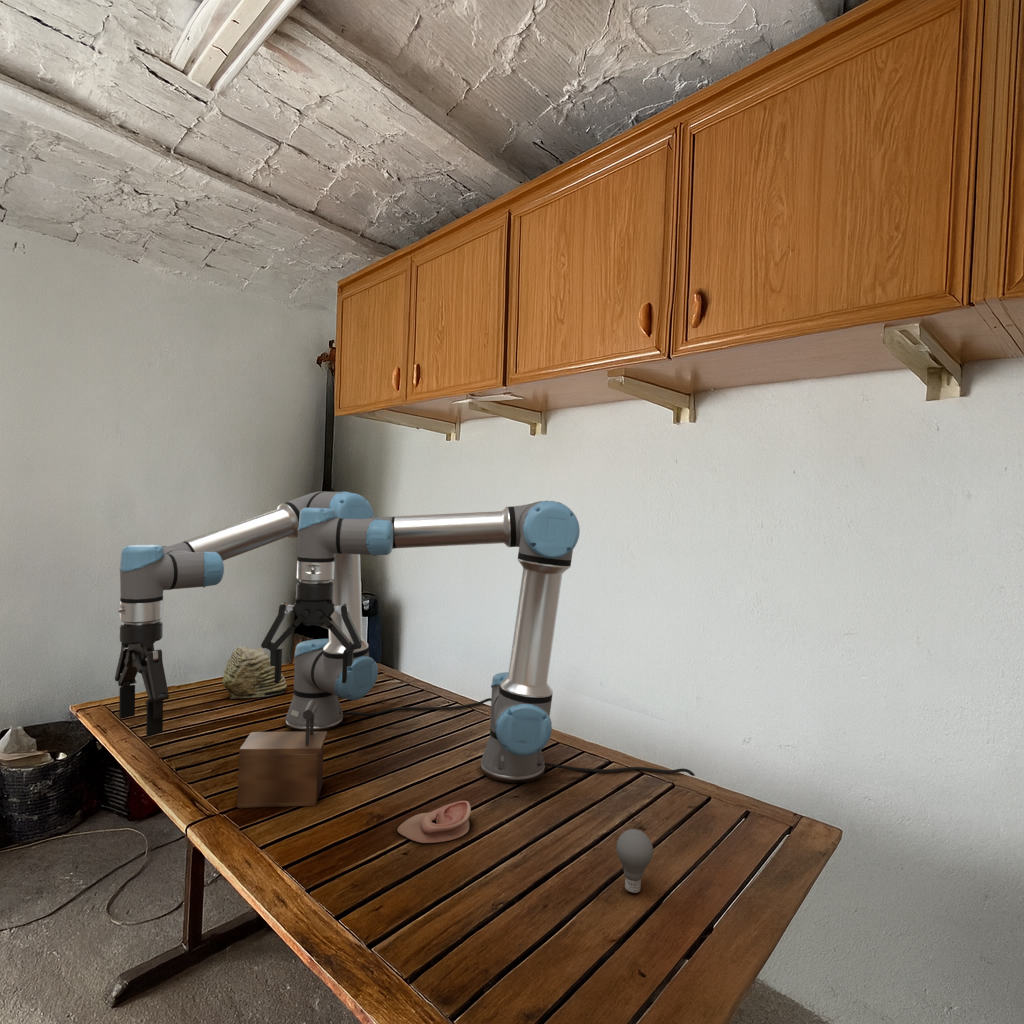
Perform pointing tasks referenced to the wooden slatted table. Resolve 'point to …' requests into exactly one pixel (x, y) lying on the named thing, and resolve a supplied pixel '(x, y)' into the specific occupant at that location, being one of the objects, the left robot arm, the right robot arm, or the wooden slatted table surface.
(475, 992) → the wooden slatted table surface
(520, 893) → the wooden slatted table surface
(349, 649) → the right robot arm
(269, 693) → the fossil
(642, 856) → the light bulb
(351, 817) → the wooden slatted table surface
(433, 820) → the anatomical model
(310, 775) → the chest
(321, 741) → the lid
